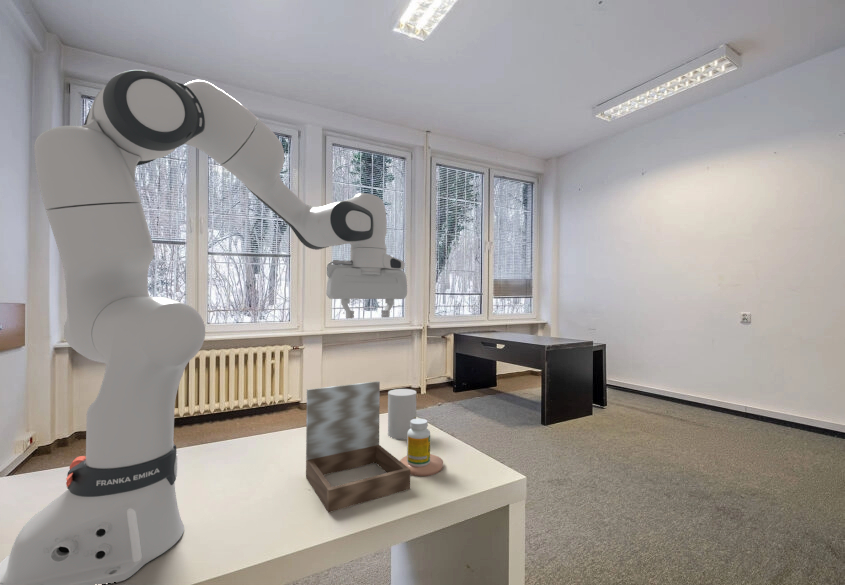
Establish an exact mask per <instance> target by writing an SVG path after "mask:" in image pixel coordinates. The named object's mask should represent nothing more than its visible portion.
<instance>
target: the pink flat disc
mask: <svg viewBox="0 0 845 585" xmlns="http://www.w3.org/2000/svg"><path fill="white" fill-rule="evenodd" d="M399 461H400V462H402V463H403V464H404V465H405V466H407V467H408V468H409V469H410V476H416V477H429V476H430V477H431V476H433V475H436V474H439V473H441V472H442V471H443V469H444V460H443V459H442V458H441V457H440V456H438V455H436V454H432V453H430V463H429V464H428V465H426V466H423V467H414V466H411V465H409V464H408V462H407V455H406V456H404V457H403V456H402V458H401V459H400V460H399Z"/></svg>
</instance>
